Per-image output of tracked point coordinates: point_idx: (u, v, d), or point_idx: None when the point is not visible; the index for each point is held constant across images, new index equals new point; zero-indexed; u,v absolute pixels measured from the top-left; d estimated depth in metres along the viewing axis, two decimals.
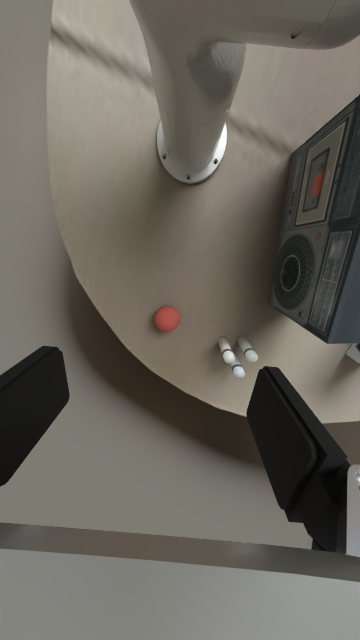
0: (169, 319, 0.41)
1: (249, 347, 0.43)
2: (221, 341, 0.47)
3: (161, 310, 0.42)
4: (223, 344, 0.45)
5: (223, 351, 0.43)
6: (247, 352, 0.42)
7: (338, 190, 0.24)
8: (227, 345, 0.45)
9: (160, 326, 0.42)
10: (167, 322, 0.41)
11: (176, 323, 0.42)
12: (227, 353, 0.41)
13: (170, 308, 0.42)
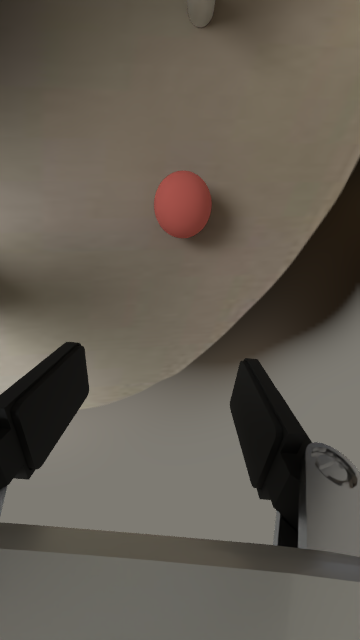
0: (169, 196, 0.17)
1: None
2: None
3: (164, 227, 0.19)
4: None
5: None
6: None
7: None
8: None
9: (196, 213, 0.18)
10: (177, 198, 0.17)
11: (177, 174, 0.17)
12: None
13: (154, 209, 0.19)
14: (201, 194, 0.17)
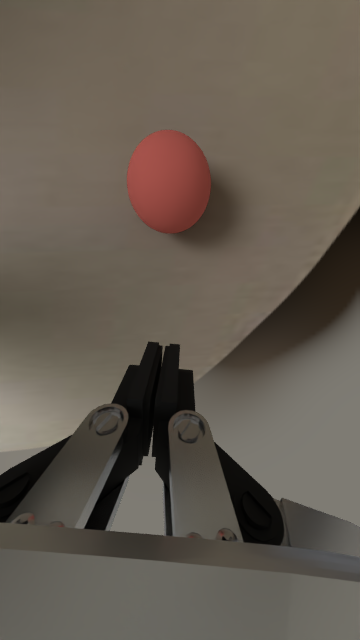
0: (147, 167, 0.11)
1: None
2: None
3: (143, 217, 0.13)
4: None
5: None
6: None
7: None
8: None
9: (189, 194, 0.12)
10: (159, 170, 0.11)
11: (158, 134, 0.11)
12: None
13: (128, 191, 0.13)
14: (196, 165, 0.11)
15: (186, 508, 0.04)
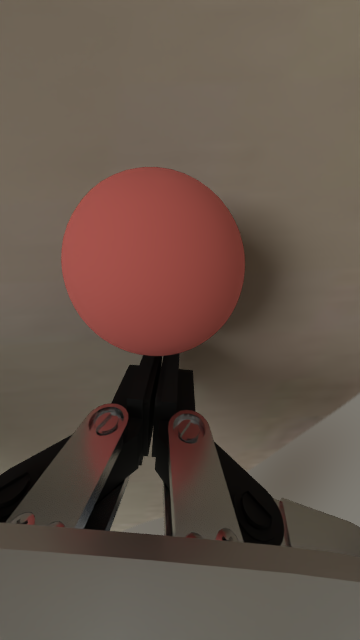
0: (89, 273, 0.04)
1: None
2: None
3: None
4: None
5: None
6: None
7: None
8: None
9: (201, 320, 0.05)
10: (120, 283, 0.04)
11: (118, 184, 0.04)
12: None
13: None
14: (217, 256, 0.04)
15: (186, 508, 0.04)
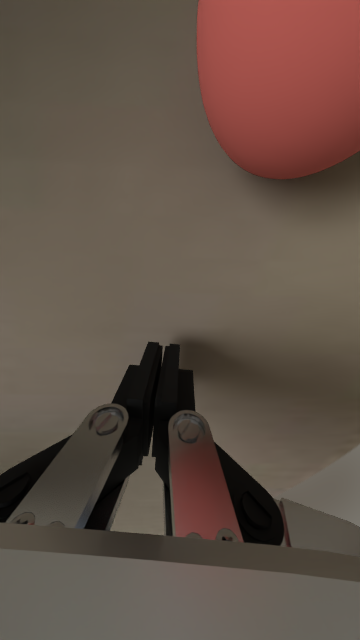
0: (235, 115, 0.05)
1: None
2: None
3: None
4: None
5: None
6: None
7: None
8: None
9: None
10: (244, 149, 0.05)
11: (352, 49, 0.03)
12: None
13: None
14: (311, 173, 0.06)
15: (186, 508, 0.04)
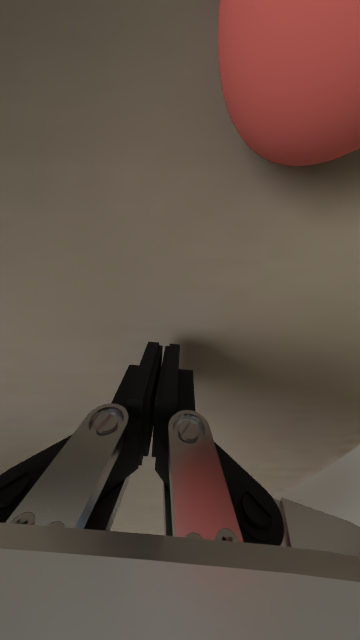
0: (281, 63, 0.04)
1: None
2: None
3: None
4: None
5: None
6: None
7: None
8: None
9: None
10: (281, 114, 0.04)
11: None
12: None
13: None
14: (338, 154, 0.05)
15: (186, 508, 0.04)
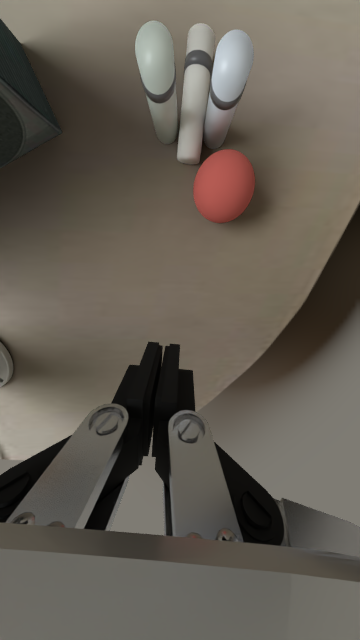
0: (205, 208, 0.18)
1: (145, 92, 0.14)
2: (187, 126, 0.18)
3: None
4: (188, 102, 0.17)
5: (198, 60, 0.16)
6: (151, 88, 0.13)
7: None
8: (183, 96, 0.17)
9: None
10: (207, 215, 0.19)
11: (226, 203, 0.17)
12: (193, 34, 0.15)
13: (199, 173, 0.17)
14: (226, 221, 0.20)
15: (186, 508, 0.04)
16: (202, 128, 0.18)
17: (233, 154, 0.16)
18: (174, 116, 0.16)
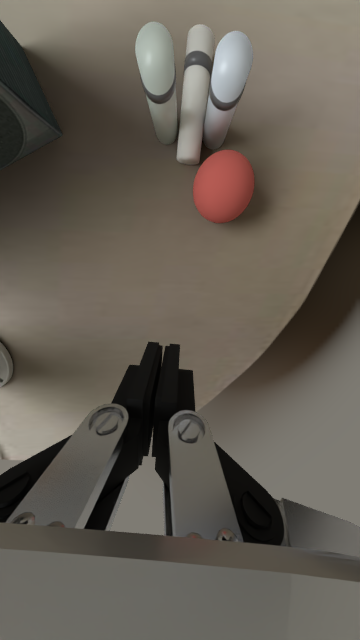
0: (204, 208, 0.18)
1: (145, 93, 0.14)
2: (187, 127, 0.18)
3: None
4: (188, 103, 0.17)
5: (198, 61, 0.16)
6: (151, 89, 0.13)
7: None
8: (182, 97, 0.17)
9: None
10: (207, 215, 0.19)
11: (225, 203, 0.17)
12: (193, 35, 0.16)
13: (199, 174, 0.17)
14: None
15: (186, 508, 0.04)
16: (202, 129, 0.18)
17: (233, 154, 0.16)
18: (174, 117, 0.16)
